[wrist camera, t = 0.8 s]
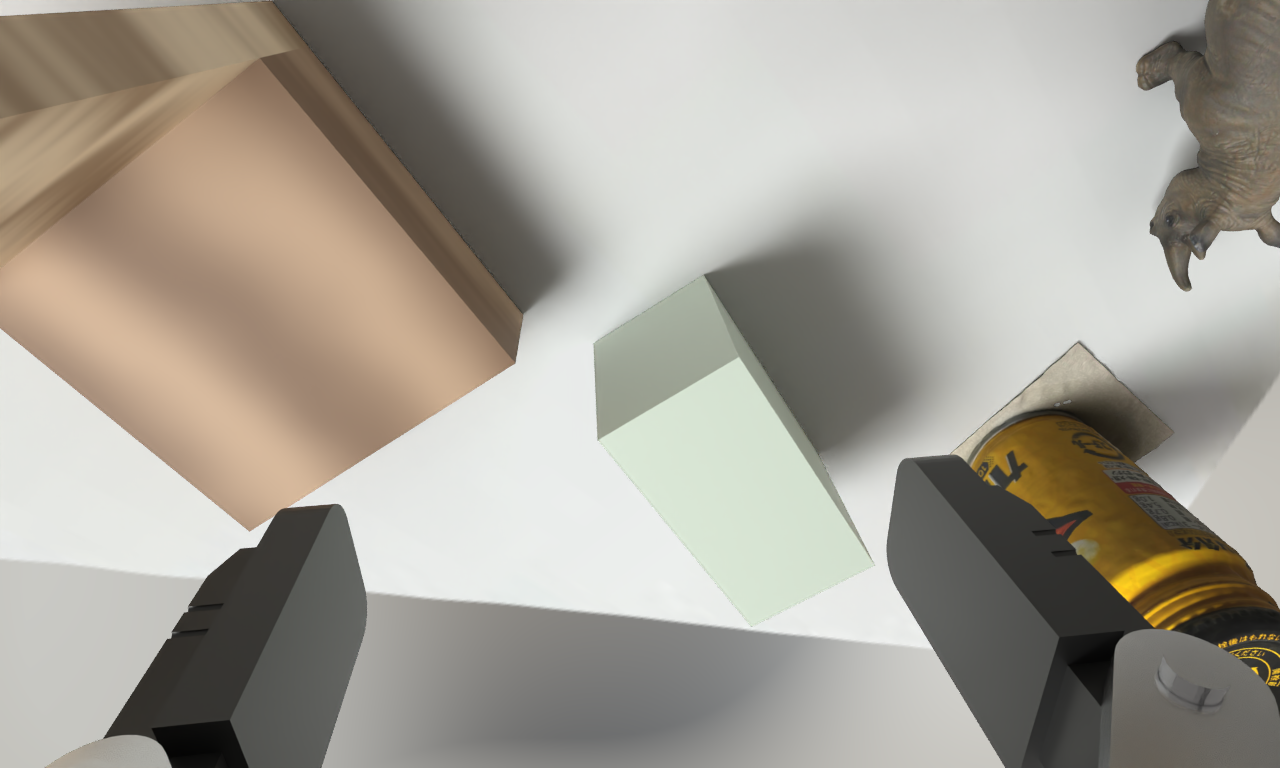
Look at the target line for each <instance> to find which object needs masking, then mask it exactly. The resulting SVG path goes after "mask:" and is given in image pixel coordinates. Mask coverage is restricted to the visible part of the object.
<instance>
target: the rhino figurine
mask: <svg viewBox="0 0 1280 768" xmlns="http://www.w3.org/2000/svg"><path fill="white" fill-rule="evenodd" d="M1205 33H1206V41H1207V48H1206V51H1205V54H1204V55H1202V54H1201V53H1200V52H1197V51H1186V50H1184V49H1183V47H1182V46H1181V45H1180V44H1179V43H1178V42H1176V41H1171V42H1169V43H1166V44H1164V45H1162V46H1160V47H1159V48H1157V49H1156V50H1155V51H1153V52H1151V53H1149V54H1147V55H1145V56H1143V57H1142V58H1141V59H1140V60H1139V62H1138V63H1137V65H1136V71H1137V73H1138V79H1137V80H1138V86H1139V87H1140V88H1141V89H1143V90H1150V89H1152V88H1154V87H1156V86H1159V85H1161V84H1163V83H1165V82H1167V81H1169V80H1173V81H1174V84H1175V95H1176V99H1177V100H1178V101H1179V103H1180V112H1181V116H1182V118H1183V119H1184V121H1186V123H1187V125H1188V127H1189V129H1190V131H1191V132H1192V133H1193V135H1194V136H1195V137H1196V139H1197V140H1198V142H1199V143H1200V151H1199V152H1198V154H1197V163H1198V165H1199V167H1197V168H1193V169H1187V170H1184V171H1182V172H1180V173H1179V174H1177V175H1176V176H1175V177H1174V178H1173V179H1172V181H1171V182H1170V184H1169V186H1168V188H1167V190H1166V193H1165V196H1164V198H1163V200H1162V202H1161V204H1160V205H1159V206H1158V208H1157V211H1156V213H1155V217H1154V218H1153V219H1152V220H1151V221H1150V234H1152V235H1154V236H1156V237H1158V238H1159V240H1160V242H1161V244H1162V246H1163V249H1164V253H1165V257H1166V260H1167V264H1168V267H1169V269H1170V272H1171V274H1172V277H1173V279H1174V280H1175V282H1176V284H1177V285H1178V286H1179V287H1180V288H1181V289H1182V290H1184V291H1190V290H1191V289H1192V287H1191V283H1190V280H1189V277H1188V264H1189V259H1190V255H1191V251H1192V252H1193V253H1194V255H1195V256H1196V257H1197V258H1198V259H1199V260H1203V259H1204V258H1205V255H1206V250H1207V249H1208V248H1209V246H1210V245H1211V244H1212V242H1213V241H1214V239H1215V238H1216V236H1217V235H1218V233H1219V232H1220V230H1222V231H1242V230H1253V229H1255V230H1256V231H1257V232H1258V235H1259V237H1260V239H1261V240H1262V241H1263V242H1264V243H1266V244H1267V245H1270V246H1274V247H1278V248H1280V223H1279V222H1278V221H1276V220H1275V219H1274V218H1273V216H1272V213H1271V208H1272V206H1273V205H1274V204H1276V202H1277V201H1278V200H1279V197H1280V0H1209V2H1208V6H1207V9H1206V15H1205Z"/></svg>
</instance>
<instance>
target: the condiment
mask: <svg viewBox="0 0 1280 768" xmlns="http://www.w3.org/2000/svg"><path fill="white" fill-rule="evenodd" d="M1067 400H1071V401H1072V402H1071V403H1068V404H1063V402H1064V401H1067ZM1055 403H1060V404H1061V405H1060V406H1058V407H1055V406H1054V404H1055ZM1173 433H1174V432H1173V431H1172V430H1171V429H1170V428H1169V427H1168V426H1167V425H1166V424H1165V423H1163V422H1162V421H1161V420H1160V419H1159V418H1158V417H1157V416H1156V415H1155V414H1154V413H1153V412H1152V411H1151V410H1149V409H1148V408H1147V407H1146V406H1145V405H1144V404H1143V403H1142V402H1141V401H1140V400H1139V399H1138V398H1137V397H1135V396H1134V395H1133V394H1132V393H1131V392H1130V391H1129V390H1128V389H1127V388H1126V387H1125V386H1124V385H1123V384H1122V383H1120V382H1119V381H1117V380H1116V378H1115V377H1114V376H1113V375H1112V374H1111V373H1110V372H1109V371H1108V370H1107V369H1106V368H1105V367H1104V366H1102V365H1101V364H1100V363H1099V362H1098V361H1097V360H1096V359H1095V358H1094V357H1093V356H1092V355H1091V354H1090V353H1089V352H1088V351H1087V350H1086V349H1084V348H1083V347H1082V346H1081V345H1080V344H1079V343H1077V344H1076V345H1075V346H1074V347H1072V348H1071V349H1070V350H1069V351H1068V352H1067V353H1066V354H1065V355H1064V356H1063V357H1062V358H1061V359H1060V360H1059V361H1057V362H1056V363H1055V364H1053V365H1052V366H1051V367H1050V368H1049V369H1048V370H1046V371H1045V373H1044V374H1043V375H1042V376H1041V377H1040V378H1039V379H1038V380H1036V381H1035V382H1034V383H1032V384H1031V385H1030V386H1029V387H1028V388H1026V389H1025V390H1024V391H1023V392H1022V394H1021V395H1019V396H1018V397H1017V398H1015V399H1014V400H1013V401H1011V402H1010V403H1009V404H1008V405H1007V406H1006V407H1004V408H1003V409H1002V410H1001V411H999V412H998V413H997V414H996V415H994V416H993V417H992V418H991V419H989V420H988V421H987V422H986V423H985V424H984V425H983V426H982V427H981V428H979V429H978V430H977V431H976V432H975V433H974V434H973V435H972V436H971V437H969V438H968V439H967V440H966V441H965V442H964V443H963V444H961V445H960V446H959V447H958V448H957V449H955V450H954V451H953V452H952V453H951V454H950V455H954V454H955V455H958V456H960V457H961V458H963V459H964V460H965V461H966V462H967V464H968V465H969V466H970V467H971V468H972V469H973V470H974V471H975V472H976V473H977V474H978V475H979V476H980V477H981V478H982V479H983V481H984V482H985V483H986V484H987V485H988V486H992V485H998V486H1000V487H1001V488H1003V489H1005V490H1007V491H1009V492H1010V493H1012V494H1014V495H1016V496H1017V497H1019V498H1021V499H1023V500H1024V501H1026V502H1028V503H1030V504H1031V505H1032V506H1033V507H1034V508H1035V509H1036V510H1037V511H1038V512H1039V513H1040V514H1041V515H1042V516H1043V517H1044V518H1045V519H1046V520H1047V521H1048V522H1049V523H1050V524H1051V525H1052V526H1053V527H1054V528H1055V529H1056V533H1057V534H1061V535H1062V536H1063V537H1064V538H1065V539H1066V540H1067V541H1068V542H1069V543H1070V544H1071V545H1072V546H1073V547H1074V548H1075V549H1076V553H1077V555H1082V556H1083V557H1084V558H1085V559H1086V560H1087V561H1088V562H1089V563H1090V564H1091V565H1092V566H1093V567H1094V568H1095V569H1096V570H1097V571H1098V572H1099V573H1100V574H1101V575H1102V576H1103V577H1104V578H1105V579H1106V580H1107V581H1108V582H1109V583H1110V584H1111V585H1112V586H1113V587H1114V588H1115V589H1116V590H1117V591H1118V592H1119V593H1120V594H1121V595H1122V596H1123V597H1124V598H1125V599H1126V600H1127V601H1128V602H1129V603H1130V604H1131V605H1132V606H1133V607H1134V608H1135V609H1136V610H1137V611H1138V612H1139V613H1140V614H1141V615H1142V616H1143V617H1144V618H1145V619H1146V620H1147V621H1148V622H1149V623H1150V624H1151V625H1152V626H1153V627H1154V628H1155V629H1163V630H1170V631H1176V632H1180V633H1184V634H1188V635H1191V636H1194V637H1197V638H1199V639H1202V640H1205V641H1207V642H1209V643H1211V644H1214V645H1216V646H1218V647H1220V648H1221V649H1223V650H1225V651H1227V652H1229V653H1230V654H1232V655H1233V656H1235V657H1237V658H1238V659H1240V660H1241V661H1242V662H1244V663H1245V664H1246V665H1247V666H1249V667H1250V668H1251V669H1252V670H1253V671H1255V672H1256V673H1257V674H1258V675H1259V676H1260V677H1261V678H1262V680H1263V681H1264V682H1265V683H1266V684H1267V685H1271V686H1278V687H1280V609H1279V608H1278V606H1277V604H1276V602H1275V601H1274V599H1273V598H1272V597H1271V596H1270V595H1269V594H1268V593H1266V592H1265V591H1263V590H1262V589H1261V588H1260V587H1258V586H1257V584H1256V581H1255V578H1254V574H1253V571H1252V570H1251V568H1250V567H1249V565H1248V564H1247V562H1246V561H1245V560H1244V559H1243V558H1242V557H1241V556H1240V555H1239V553H1238V552H1237V551H1236V550H1235V549H1233V548H1232V547H1230V546H1229V545H1228V544H1227V543H1226V542H1224V541H1223V540H1222V539H1221V538H1220V537H1219V536H1217V535H1216V534H1215V533H1214V532H1213V531H1211V530H1210V529H1209V528H1208V527H1207V526H1206V525H1204V524H1203V523H1202V522H1201V521H1199V519H1198V518H1196V517H1195V516H1193V514H1191V513H1190V512H1189V511H1188V510H1187V509H1186V508H1184V507H1183V506H1182V505H1181V504H1180V503H1179V502H1177V501H1176V499H1175V498H1174V497H1173V496H1172V495H1171V494H1169V493H1167V492H1166V491H1165V490H1164V489H1163V488H1162V487H1161V486H1160V485H1159V484H1158V483H1156V482H1155V481H1154V480H1153V479H1151V478H1150V477H1149V476H1148V474H1147V473H1145V472H1144V471H1143V470H1142V469H1140V468H1139V467H1138V466H1137V465H1136V464H1135V462H1136V461H1137V460H1138V459H1140V458H1141V457H1142V456H1144V455H1146V454H1148V453H1149V452H1151V451H1152V450H1154V449H1156V448H1157V447H1158V446H1159V445H1160V444H1161V443H1162V442H1163V441H1165V440H1166V439H1167V438H1168V437H1170V436H1171V435H1172V434H1173Z"/></svg>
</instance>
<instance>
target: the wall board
mask: <svg viewBox="0 0 1280 768" xmlns="http://www.w3.org/2000/svg"><path fill="white" fill-rule="evenodd" d="M304 47H308V46H307V44H306V43H305V42H304V41H303V39H302V38H301V37H300V36H299V34H298V33H297V32H296V31H295V29H294V28H293V27H292V26H291V24H290V23H289V22H288V21H287V19H286V18H285V17H284V16H283V14H282V13H281V12H280V11H279V9H278V8H277V7H276V6H275V4H274V3H273V2H272V1H260V2H243V3H225V4H207V5H190V6H172V7H154V8H137V9H119V10H101V11H84V12H66V13H49V14H31V15H13V16H0V268H1V267H2V266H4V265H5V264H6V263H7V262H9V261H10V260H11V259H12V258H13V257H15V256H16V255H17V254H18V253H20V252H21V251H22V250H23V249H25V248H26V247H27V246H28V245H29V244H31V243H32V242H33V241H34V240H36V239H37V238H38V237H39V236H41V235H42V234H43V233H44V232H46V231H47V230H48V229H49V228H50V227H52V226H53V225H54V224H55V223H57V222H58V221H59V220H60V219H62V218H63V217H64V216H65V215H66V214H68V213H69V212H70V211H71V210H73V209H74V208H75V207H76V206H78V205H79V204H80V203H81V202H83V201H84V200H85V199H86V198H87V197H89V196H90V195H91V194H92V193H94V192H95V191H96V190H97V189H99V188H100V187H101V186H102V185H103V184H105V183H106V182H107V181H108V180H110V179H111V178H112V177H113V176H115V175H116V174H117V173H118V172H120V171H121V170H122V169H123V168H124V167H126V166H127V165H128V164H129V163H131V162H132V161H133V160H134V159H136V158H137V157H138V156H139V155H140V154H142V153H143V152H144V151H145V150H147V149H148V148H149V147H150V146H152V145H153V144H154V143H155V142H157V141H158V140H159V139H160V138H161V137H163V136H164V135H165V134H166V133H168V132H169V131H170V130H171V129H173V128H174V127H175V126H176V125H177V124H179V123H180V122H181V121H182V120H184V119H185V118H186V117H187V116H189V115H190V114H191V113H192V112H194V111H195V110H196V109H197V108H198V107H200V106H201V105H202V104H203V103H205V102H206V101H207V100H208V99H210V98H211V97H212V96H213V95H214V94H216V93H217V92H218V91H219V90H221V89H222V88H223V87H224V86H226V85H227V84H228V83H229V82H231V81H232V80H233V79H234V78H235V77H237V76H238V75H239V74H240V73H242V72H243V71H244V70H245V69H247V68H248V67H249V66H250V65H251V64H253V63H254V62H255V61H256V60H258V59H259V58H262V57H266V56H270V55H274V54H279V53H283V52H287V51H292V50H296V49H300V48H304Z"/></svg>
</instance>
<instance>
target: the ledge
mask: <svg viewBox="0 0 1280 768" xmlns="http://www.w3.org/2000/svg"><path fill="white" fill-rule="evenodd" d="M522 319H523V314H522V313H521V312H520V310H519V309H518V308H517V307H516V305H515V304H514V303H513V302H512V300H511V299H510V298H509V297H508V295H507V294H506V293H505V292H504V290H503V289H502V288H501V287H500V285H499V284H498V283H497V282H496V280H495V279H494V278H493V277H492V275H491V274H490V273H489V272H488V270H487V269H486V268H485V267H484V265H483V264H482V263H481V262H480V260H479V259H478V258H477V257H476V255H475V254H474V253H473V252H472V250H471V249H470V248H469V247H468V245H467V244H466V243H465V242H464V240H463V239H462V238H461V237H460V235H459V234H458V233H457V232H456V230H455V229H454V228H453V227H452V225H451V224H450V223H449V222H448V220H447V219H446V218H445V217H444V215H443V214H442V213H441V212H440V210H439V209H438V208H437V207H436V205H435V204H434V203H433V202H432V200H431V199H430V198H429V197H428V195H427V194H426V193H425V192H424V190H423V189H422V188H421V187H420V186H419V184H418V183H417V182H416V181H415V179H414V178H413V177H412V176H411V174H410V173H409V172H408V171H407V169H406V168H405V167H404V166H403V164H402V163H401V162H400V161H399V159H398V158H397V157H396V156H395V154H394V153H393V152H392V151H391V149H390V148H389V147H388V146H387V144H386V143H385V142H384V141H383V139H382V138H381V137H380V136H379V134H378V133H377V132H376V131H375V129H374V128H373V127H372V126H371V124H370V123H369V122H368V121H367V119H366V118H365V117H364V116H363V114H362V113H361V112H360V111H359V109H358V108H357V107H356V106H355V104H354V103H353V102H352V101H351V99H350V98H349V97H348V96H347V94H346V93H345V92H344V91H343V89H342V88H341V87H340V86H339V84H338V83H337V82H336V81H335V79H334V78H333V77H332V76H331V74H330V73H329V72H328V71H327V69H326V68H325V67H324V66H323V64H322V63H321V62H320V61H319V59H318V58H317V57H316V56H315V54H314V53H313V52H312V51H311V49H310V48H309V47H304V48H300V49H296V50H292V51H287V52H283V53H279V54H274V55H270V56H266V57H262V58H259V59H258V60H256V61H255V62H254V63H253V64H251V65H250V66H249V67H248V68H247V69H245V70H244V71H243V72H242V73H240V74H239V75H238V76H237V77H235V78H234V79H233V80H232V81H231V82H229V83H228V84H227V85H226V86H224V87H223V88H222V89H221V90H219V91H218V92H217V93H216V94H214V95H213V96H212V97H211V98H210V99H208V100H207V101H206V102H205V103H203V104H202V105H201V106H200V107H198V108H197V109H196V110H195V111H194V112H192V113H191V114H190V115H189V116H187V117H186V118H185V119H184V120H182V121H181V122H180V123H179V124H177V125H176V126H175V127H174V128H173V129H171V130H170V131H169V132H168V133H166V134H165V135H164V136H163V137H161V138H160V139H159V140H158V141H157V142H155V143H154V144H153V145H152V146H150V147H149V148H148V149H147V150H145V151H144V152H143V153H142V154H140V155H139V156H138V157H137V158H136V159H134V160H133V161H132V162H131V163H129V164H128V165H127V166H126V167H124V168H123V169H122V170H121V171H120V172H118V173H117V174H116V175H115V176H113V177H112V178H111V179H110V180H108V181H107V182H106V183H105V184H103V185H102V186H101V187H100V188H99V189H97V190H96V191H95V192H94V193H92V194H91V195H90V196H89V197H87V198H86V199H85V200H84V201H83V202H81V203H80V204H79V205H78V206H76V207H75V208H74V209H73V210H71V211H70V212H69V213H68V214H66V215H65V216H64V217H63V218H62V219H60V220H59V221H58V222H57V223H55V224H54V225H53V226H52V227H50V228H49V229H48V230H47V231H46V232H44V233H43V234H42V235H41V236H39V237H38V238H37V239H36V240H34V241H33V242H32V243H31V244H29V245H28V246H27V247H26V248H25V249H23V250H22V251H21V252H20V253H18V254H17V255H16V256H15V257H13V258H12V259H11V260H10V261H9V262H7V263H6V264H5V265H4V266H2V267H1V268H0V328H1V329H2V330H3V331H4V332H5V333H7V334H8V335H9V336H10V337H12V338H13V339H14V340H15V341H17V342H18V343H19V344H20V345H21V346H23V347H24V348H25V349H26V350H28V351H29V352H30V353H31V354H32V355H34V356H35V357H36V358H37V359H39V360H40V361H41V362H42V363H44V364H45V365H46V366H47V367H48V368H50V369H51V370H52V371H53V372H55V373H56V374H57V375H58V376H59V377H61V378H62V379H63V380H64V381H66V382H67V383H68V384H69V385H70V386H72V387H73V388H74V389H75V390H77V391H78V392H79V393H80V394H82V395H83V396H84V397H85V398H86V399H88V400H89V401H90V402H91V403H93V404H94V405H95V406H96V407H97V408H99V409H100V410H101V411H102V412H104V413H105V414H106V415H107V416H109V417H110V418H111V419H112V420H113V421H115V422H116V423H117V424H118V425H120V426H121V427H122V428H123V429H124V430H126V431H127V432H128V433H129V434H131V435H132V436H133V437H134V438H135V439H137V440H138V441H139V442H140V443H142V444H143V445H144V446H145V447H147V448H148V449H149V450H150V451H151V452H153V453H154V454H155V455H156V456H158V457H159V458H160V459H161V460H162V461H164V462H165V463H166V464H167V465H169V466H170V467H171V468H172V469H173V470H175V471H176V472H177V473H178V474H180V475H181V476H182V477H183V478H185V479H186V480H187V481H188V482H189V483H191V484H192V485H193V486H194V487H196V488H197V489H198V490H199V491H200V492H202V493H203V494H204V495H205V496H207V497H208V498H209V499H210V500H212V501H213V502H214V503H215V504H216V505H218V506H219V507H220V508H221V509H223V510H224V511H225V512H226V513H227V514H229V515H230V516H231V517H232V518H234V519H235V520H236V521H237V522H238V523H240V524H241V525H242V526H243V527H245V528H246V529H247V530H248V531H251V530H253V529H254V528H256V527H257V526H259V525H261V524H262V523H264V522H265V521H267V520H268V519H270V518H272V517H273V516H275V515H276V514H277V512H278V511H279V510H281V509H283V508H287V507H289V506H291V505H292V504H294V503H295V502H297V501H298V500H300V499H302V498H303V497H305V496H306V495H308V494H310V493H311V492H313V491H314V490H316V489H317V488H319V487H321V486H322V485H324V484H325V483H327V482H328V481H330V480H332V479H333V478H335V477H336V476H338V475H340V474H341V473H343V472H344V471H346V470H347V469H349V468H351V467H352V466H354V465H355V464H357V463H358V462H360V461H362V460H363V459H365V458H366V457H368V456H370V455H371V454H373V453H374V452H376V451H377V450H379V449H381V448H382V447H384V446H385V445H387V444H388V443H390V442H392V441H393V440H395V439H396V438H398V437H400V436H401V435H403V434H404V433H406V432H407V431H409V430H411V429H412V428H414V427H415V426H417V425H419V424H420V423H422V422H423V421H425V420H426V419H428V418H430V417H431V416H433V415H434V414H436V413H437V412H439V411H441V410H442V409H444V408H445V407H447V406H449V405H450V404H452V403H453V402H455V401H456V400H458V399H460V398H461V397H463V396H464V395H466V394H467V393H469V392H471V391H472V390H474V389H475V388H477V387H479V386H480V385H482V384H483V383H485V382H486V381H488V380H490V379H491V378H493V377H494V376H496V375H497V374H499V373H501V372H502V371H504V370H505V369H507V368H509V367H510V366H512V365H513V364H515V362H516V356H517V350H518V344H519V338H520V332H521V326H522Z"/></svg>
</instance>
